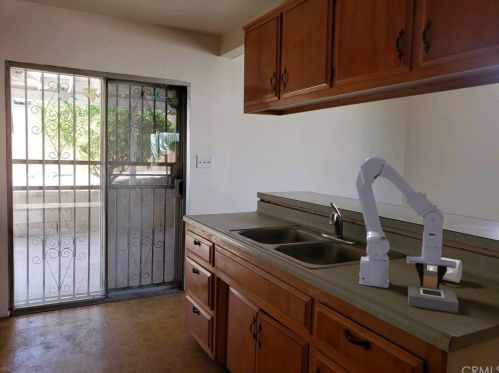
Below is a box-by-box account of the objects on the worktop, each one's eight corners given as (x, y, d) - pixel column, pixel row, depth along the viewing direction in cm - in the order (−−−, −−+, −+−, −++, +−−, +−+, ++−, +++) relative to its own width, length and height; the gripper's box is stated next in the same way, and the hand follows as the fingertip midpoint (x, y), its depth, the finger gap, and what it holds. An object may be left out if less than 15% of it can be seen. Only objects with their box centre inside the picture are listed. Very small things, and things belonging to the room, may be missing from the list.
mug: (432, 274, 146) (433, 253, 146) (461, 280, 140) (462, 258, 139) (423, 281, 137) (424, 259, 136) (454, 288, 131) (455, 265, 130)
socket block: (408, 305, 114) (409, 295, 113) (407, 293, 124) (408, 284, 123) (457, 313, 109) (458, 302, 109) (452, 300, 119) (453, 290, 119)
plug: (422, 293, 124) (423, 272, 123) (422, 290, 128) (423, 269, 127) (436, 295, 123) (437, 274, 122) (435, 291, 126) (436, 271, 126)
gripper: (408, 246, 123) (405, 287, 124) (458, 251, 118) (456, 294, 119) (407, 242, 129) (405, 281, 130) (455, 246, 124) (453, 287, 125)
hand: (429, 287), depth 125 cm, fingers closed on plug, 4 cm apart
